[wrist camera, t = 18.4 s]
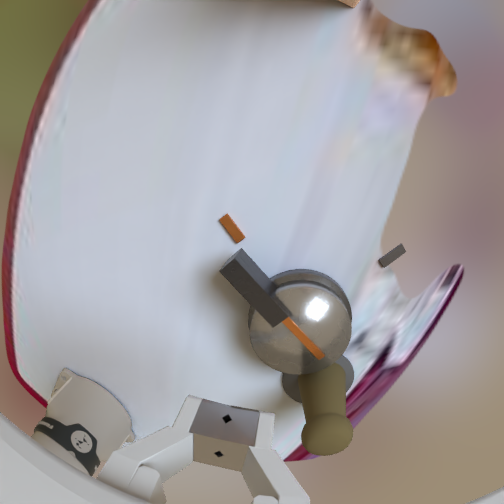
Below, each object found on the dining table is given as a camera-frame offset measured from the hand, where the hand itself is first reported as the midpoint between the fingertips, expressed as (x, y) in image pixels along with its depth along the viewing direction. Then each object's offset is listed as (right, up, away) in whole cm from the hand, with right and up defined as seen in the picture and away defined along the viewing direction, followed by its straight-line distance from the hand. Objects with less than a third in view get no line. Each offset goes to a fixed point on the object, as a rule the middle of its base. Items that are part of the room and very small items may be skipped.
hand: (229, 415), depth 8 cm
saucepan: (+4, 0, +20) cm, 20 cm away
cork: (+9, -10, +23) cm, 27 cm away
